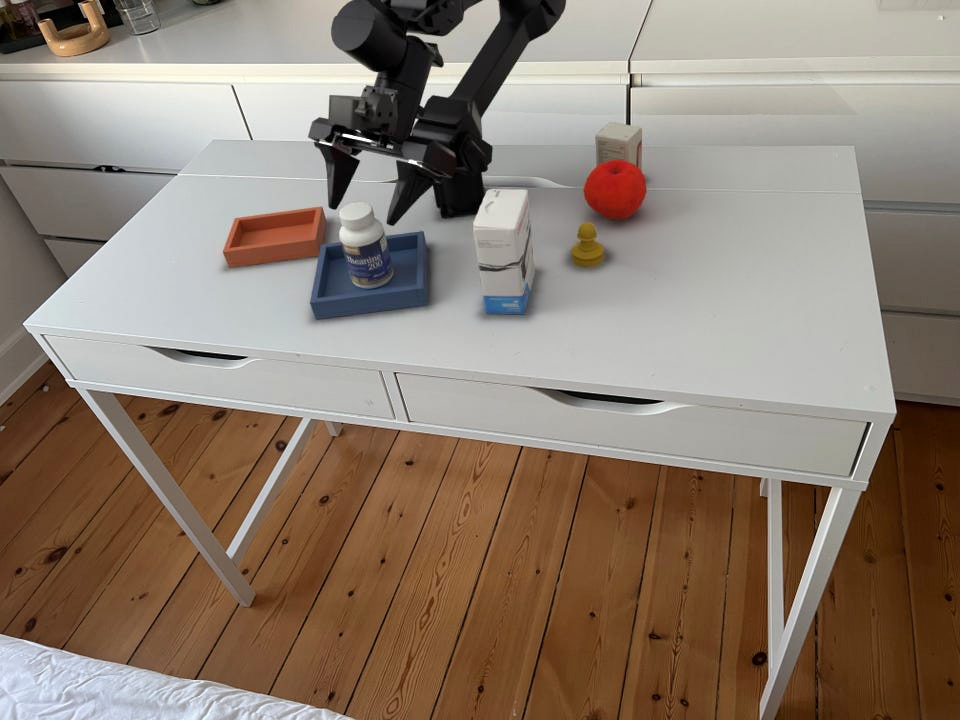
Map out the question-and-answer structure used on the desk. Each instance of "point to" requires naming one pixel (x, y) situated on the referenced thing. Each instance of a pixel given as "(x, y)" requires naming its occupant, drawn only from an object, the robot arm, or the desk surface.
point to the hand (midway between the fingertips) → (360, 216)
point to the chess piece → (587, 247)
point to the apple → (615, 189)
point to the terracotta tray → (275, 237)
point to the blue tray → (345, 298)
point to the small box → (619, 144)
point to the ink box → (504, 250)
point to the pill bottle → (365, 246)
